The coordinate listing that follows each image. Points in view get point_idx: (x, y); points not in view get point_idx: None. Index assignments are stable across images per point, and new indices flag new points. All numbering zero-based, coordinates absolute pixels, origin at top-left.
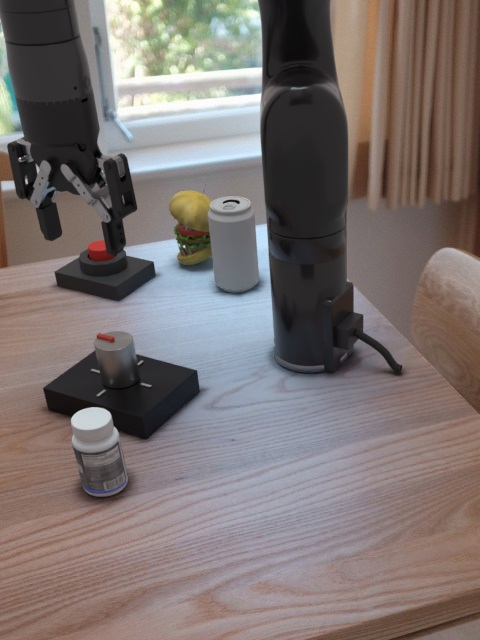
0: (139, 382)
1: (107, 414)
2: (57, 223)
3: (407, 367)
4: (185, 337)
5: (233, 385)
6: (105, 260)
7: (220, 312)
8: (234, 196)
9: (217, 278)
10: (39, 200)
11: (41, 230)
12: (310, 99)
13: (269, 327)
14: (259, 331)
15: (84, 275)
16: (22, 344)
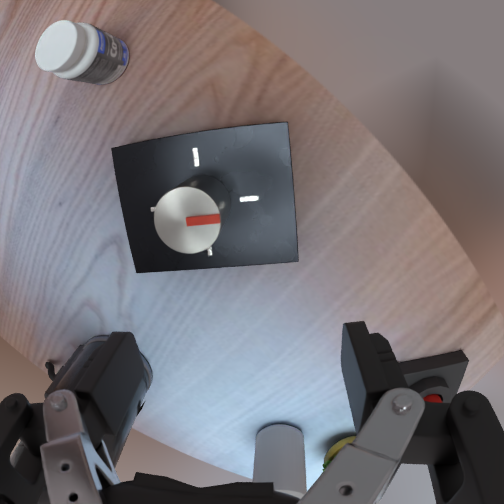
0: None
1: (43, 65)
2: (348, 383)
3: (54, 371)
4: (253, 345)
5: (129, 289)
6: None
7: (257, 396)
8: None
9: (289, 432)
10: (377, 419)
11: (383, 339)
12: None
13: (189, 392)
14: (191, 383)
15: (435, 373)
16: (432, 234)
